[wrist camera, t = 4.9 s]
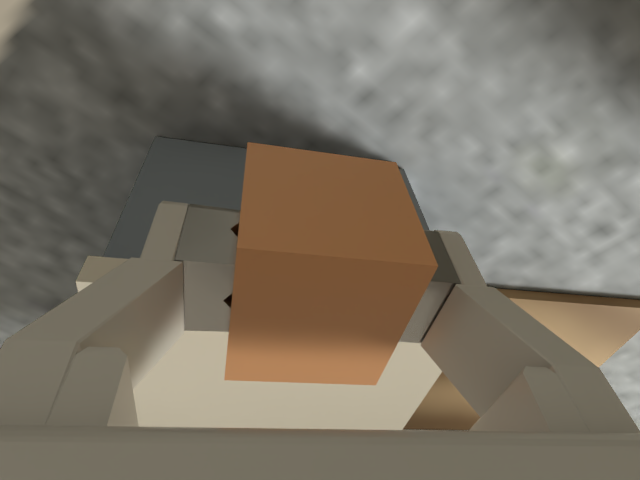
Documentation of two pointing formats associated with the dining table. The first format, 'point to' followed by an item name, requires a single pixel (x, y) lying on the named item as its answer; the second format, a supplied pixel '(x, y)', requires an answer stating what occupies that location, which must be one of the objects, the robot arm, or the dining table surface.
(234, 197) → the tub
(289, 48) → the dining table surface
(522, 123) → the dining table surface
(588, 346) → the mat
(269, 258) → the lid
